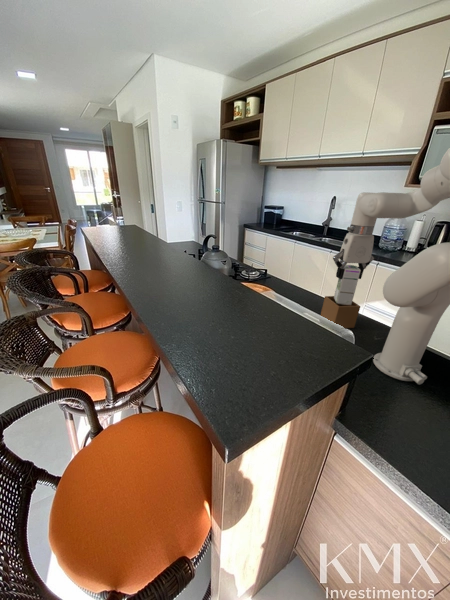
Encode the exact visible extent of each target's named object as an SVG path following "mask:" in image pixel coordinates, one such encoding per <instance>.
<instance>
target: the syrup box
mask: <svg viewBox="0 0 450 600" xmlns="http://www.w3.org/2000/svg"><path fill="white" fill-rule="evenodd" d="M358 267H359V266H357V265H353V264H346V265H345V267H344V268H343V269H344V274H343V278H342V279H339V278H338V279H337V283H336V287H335V291H334V295H333V296H334V299H335V301H336V303H338V304H344V305H351V304H352V301H354V297H355V292H356V289H357V285H358V282H359V280H360V279H359V275H360V271H361V270H360V269H359V268H358Z"/></svg>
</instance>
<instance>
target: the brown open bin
mask: <svg viewBox="0 0 450 600" xmlns="http://www.w3.org/2000/svg"><path fill="white" fill-rule="evenodd" d="M360 310H361V305H359V304H358V303H356V302H355V301H354V300H352V304H351V305H344V304H338V303H336V301H335V299H334V295H325V296H324V299H323V302H322V307H321V310H320V311H321V312H320V315H321V316H323V317H325V318H327V319H328V320H330V321H333V322H334V323H336V324H339V325H341V326H343V327H344V328H343V329H354V328H355V326H356V323H357V319H358V316H359V313H360Z"/></svg>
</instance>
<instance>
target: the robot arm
mask: <svg viewBox="0 0 450 600" xmlns="http://www.w3.org/2000/svg"><path fill="white" fill-rule="evenodd" d="M447 199H450V147H449V148H448V149H447V150H446V151H445V153H444V154H443V156H442V157H441V160H440V163H439V164H438V165H436V166H434V167H432V168H430V169H428V170H427V171H425V172H424V174H423V175H422V177H421V180H420V187H419V188H417V189H414V190H412V191H409V192H405V193H404V192H384V191H383V192H361V193H359V194H358V195H357V197H356V202H355V204H354V205H355V206H354V208H353V209H354V210H353V213H352V218H351V222H350V225H349V226H348V227H346V231H348V233H346V235H345V236H344V239H343V241H342V245H341V248H340V251H339V252H338V253H336V254H335V255H334V256H332V260H333V262H334V264H335V265H336V267H337V268H336V269H337V270H336V273H335V278H338V279H342V278H343V274H344V269H343V268H344V267H345V265H348V264H358V266H357V267H358V268H359V269H360V270H361V271H360V275H359V279H358V280H362V277H363V274H364V270H366V269H367V267H368V266H369V265H370V264H371V263H372V262H373V261H374V260H375V257H374V256H373V254H372V253H373V249H374V241H375V236H374V235H373V233H374V230H375V226H376V222H377V219H393V220H395V219H398V220H400V219H405V218H409V217H413V216H416V215H419V214H422V213H424V212H428V211H430V210H432V209H433V208H434V207H436V206H437V205H438V204H439V203H441V202H442V201H444V200H447ZM382 294H383V298H384V299H385V300H386V302H388V304H390V305H392V306H394V307H397V308H398V310H397V312H396V314H395V316H394V319H393V321H392V323H391V324H392V325H391V327H390V330H389V331H388V335H387V337H386V339H385V343H384V345H383V347H382V350H381V352H378V353H376V354H374V356H373V358H374V359H373V358H372V362H373V364H374V365H375V367H376V368H377V369H378V370H379V371H380V372H382V373H383V374H385V375H387V376H389V377H391V378H393V379H395V380H399V381H402V382H403V381H404V382H415V383H416V384H417V385H422V384H423V383H424V382H425V381H426V380H427V379H428V376H427V375H426V374H425V373H423V372H422V371H421V369H422V367H423V365H422V364H421V363H420V362H421V360H422V358H423V356H424V354H425V352H426V349H427V347H428V345H429V342H430V341H431V339H432V336H433V334H434V332H435V330H436V328H437V326H438V324H439V322H440V321H441V320H440V319H441V318H442V316H443V315H444V313H445V312H446V310H447V309H448V308H449V306H450V242H447V241H446V242H439V243H437V244H434V245H430V246H429V247H426V248H425V249H423V250H421V251H420V252H419V253H418V254H416V255H414V256H413V257H412V258H411V259H409V260H408V261H406V262H405V263H404V264H402V265H401V266H400V267H398V268H397V269H396V270H395V271H393V272H392V273H391V274H390V275H389V276H388V277H387V278H386V280H385V281H384V283H383V286H382Z"/></svg>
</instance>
